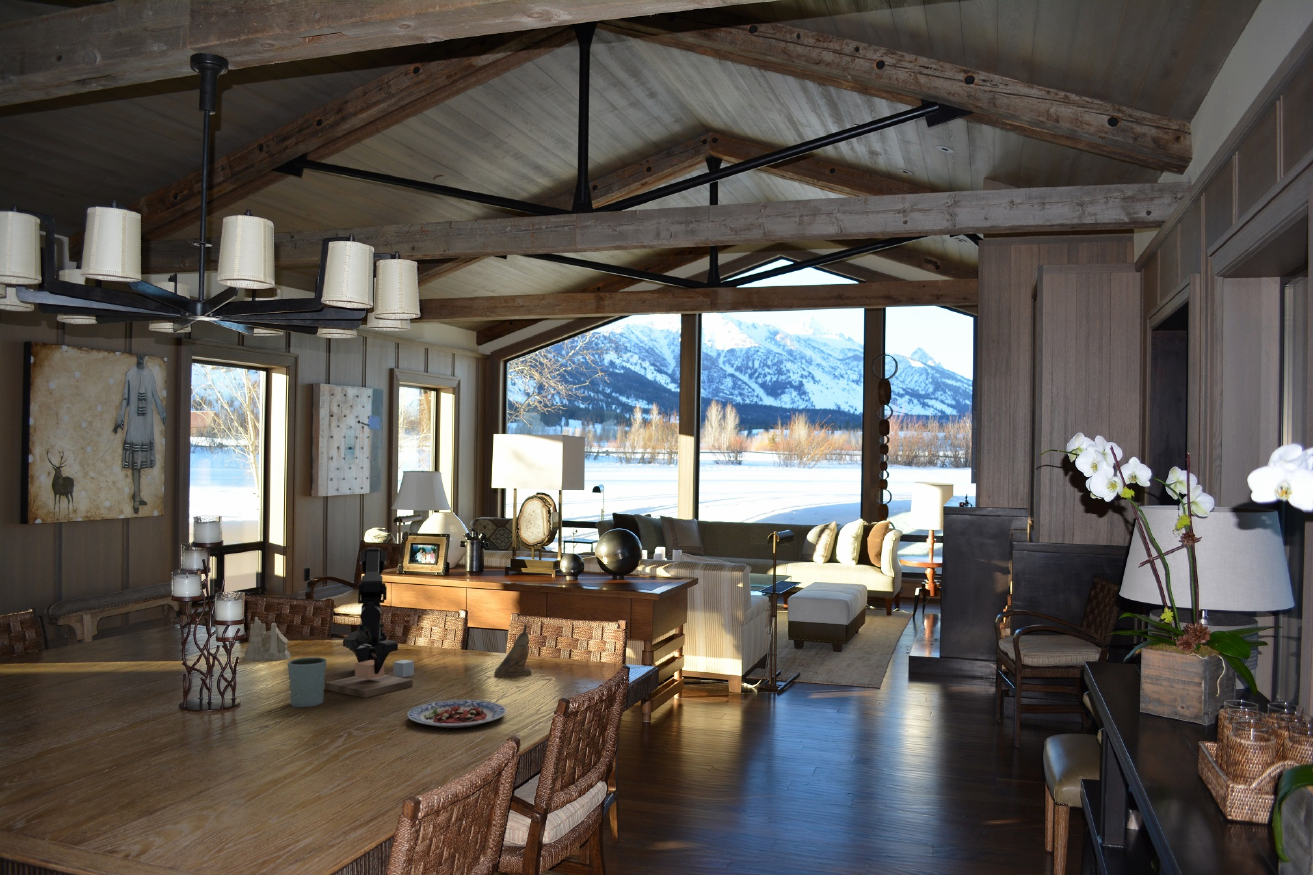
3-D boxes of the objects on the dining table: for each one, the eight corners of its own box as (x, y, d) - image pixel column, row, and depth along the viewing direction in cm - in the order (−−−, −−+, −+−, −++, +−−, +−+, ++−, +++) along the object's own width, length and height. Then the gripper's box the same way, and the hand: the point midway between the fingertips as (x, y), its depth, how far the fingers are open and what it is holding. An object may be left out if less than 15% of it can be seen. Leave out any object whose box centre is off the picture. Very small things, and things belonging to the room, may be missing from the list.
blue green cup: (332, 701, 264) (334, 659, 264) (305, 709, 255) (307, 665, 255) (306, 697, 268) (307, 655, 269) (278, 705, 259) (280, 661, 259)
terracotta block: (354, 676, 281) (355, 662, 281) (370, 672, 286) (370, 659, 286) (368, 678, 277) (368, 665, 278) (383, 675, 282) (384, 662, 283)
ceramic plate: (522, 712, 255) (523, 702, 255) (475, 737, 231) (475, 725, 231) (441, 704, 264) (441, 693, 264) (387, 727, 239) (387, 715, 240)
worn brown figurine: (528, 680, 305) (540, 626, 308) (530, 683, 300) (543, 628, 302) (492, 674, 302) (505, 619, 304) (494, 677, 297) (507, 621, 299)
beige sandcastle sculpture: (283, 661, 318) (283, 616, 319) (235, 662, 318) (236, 618, 319) (300, 655, 333) (300, 612, 335) (254, 656, 333) (255, 614, 335)
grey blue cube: (393, 675, 298) (393, 661, 299) (404, 673, 302) (404, 659, 302) (402, 677, 296) (403, 663, 296) (413, 675, 300) (414, 661, 300)
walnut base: (325, 689, 279) (325, 682, 279) (372, 678, 294) (373, 672, 294) (365, 697, 269) (365, 690, 269) (412, 686, 284) (412, 679, 284)
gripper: (328, 621, 280) (327, 673, 280) (370, 627, 270) (368, 681, 270) (358, 616, 290) (357, 666, 289) (399, 622, 280) (398, 674, 279)
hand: (369, 672), depth 282 cm, fingers closed on terracotta block, 6 cm apart
